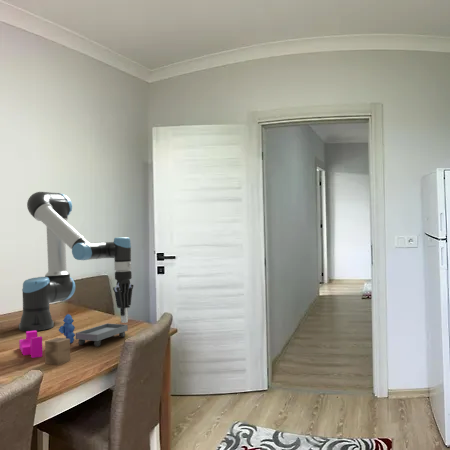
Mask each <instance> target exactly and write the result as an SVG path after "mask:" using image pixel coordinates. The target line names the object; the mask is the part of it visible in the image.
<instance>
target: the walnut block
mask: <svg viewBox="0 0 450 450" xmlns="http://www.w3.org/2000/svg"><path fill="white" fill-rule="evenodd" d="M44 357H45V358H44V362H45V363H44V364H48V365H55V366H60V365H62V364H65V363H67V362H71V343H70V339H67V338H66V337H54V338H52V339H48V340H45V341H44Z"/></svg>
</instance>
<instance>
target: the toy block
mask: <svg viewBox="0 0 450 450" xmlns="http://www.w3.org/2000/svg"><path fill="white" fill-rule="evenodd" d="M18 343H19V344H18V345H19V350H21V351H20V352H22V353H21V354H23V355H22V356H30V355H31V356H30V358H32V359H34V358H41V357H43V336H40V335H39V336H38V331H36V330H35V331H25V338H24V339H19V341H18Z"/></svg>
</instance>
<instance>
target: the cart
mask: <svg viewBox="0 0 450 450" xmlns="http://www.w3.org/2000/svg"><path fill="white" fill-rule="evenodd" d="M127 331H128V324H120V323H104V324H100V325H98V326H94V327H91V328H87V329H84V330H81V331H78V332H75V340H78V344H79V346H80V345H81V346H83V345H84V344H85V343H86V341H92V342H94V343H93V346H94V347H100V346H101V344H102V340H105V339H108V338H111V337H114V336H116V335H118V336H119V338H125V336H126V332H127Z"/></svg>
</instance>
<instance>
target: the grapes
mask: <svg viewBox="0 0 450 450" xmlns="http://www.w3.org/2000/svg"><path fill="white" fill-rule="evenodd" d="M62 321H63V322H64V323H63V325H61V326H60V327H59V328H58V332H59V333H60V334H63V335H64V338H67V339H70V344H72V343H74V340H75V337H76V333H75V332H74V331H75V329H76V328H75V325H74V324H73V322H74V319H73V316H72V315H71V314H69V313H67V314H66V315H65V316H64V317H63V320H62Z"/></svg>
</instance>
